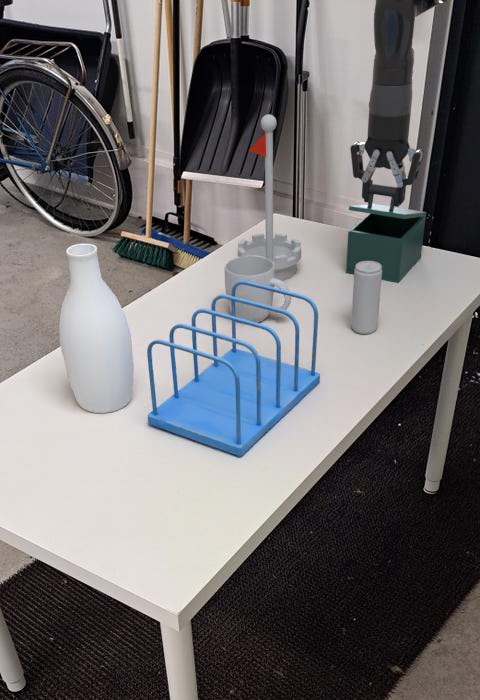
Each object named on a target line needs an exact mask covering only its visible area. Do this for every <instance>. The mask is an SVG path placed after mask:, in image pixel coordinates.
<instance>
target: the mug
mask: <svg viewBox="0 0 480 700" xmlns="http://www.w3.org/2000/svg"><path fill="white" fill-rule="evenodd" d="M239 281H249V282H253V283H258V284H262V285H266V286H270V287H274V288H277V289H281V290H285V291H289V292H291V290H290V288H289V287H288V285H287V284H286V283H285V282H284V280H282V281H281V280H279V279H275V274H274V264H273V262H272V261H271V260H269V259H267V258H264V257H260V256H241V257H238V256H236V257H234V258H232V259H230V260H228V262H226V263H225V265H224V287H225V295H229V296H231V293H232V288H233V286H234V285H235V284H236V283H237V282H239ZM274 294H275V292H272V291H269V290H265V289H261V288H256V287H252V286H248V285H239V286H237V288H236V291H235V297H237V298H241V299H245V300H249V301H253V302H257V303H260V304H264V305H268V306H271V307H273V301H274ZM283 298H284V302H283V304H281V305H280V306H274V307H275V308H279V309H283V310H286V311H287V309H288V308H289V307H290V306H291V301H292V296H288V295H284V294H283ZM226 301H227V305H228V308H229V312H230V314H231V315H232V307H231V300H228V299H226ZM270 314H274V315H275V314H276V315H277V314H279V313H277V312H274V311H270V310H266V309H262V308H259V307H255V306H251V305H247V304H243V303H239V302H235V317H238V318H241V319H245V320H249V321H252V322H256V323H260V322H263V321H264V320H266V318H268V317H269V315H270Z"/></svg>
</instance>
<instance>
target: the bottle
mask: <svg viewBox="0 0 480 700" xmlns="http://www.w3.org/2000/svg"><path fill="white" fill-rule="evenodd" d="M65 255H66V256H67V260H68V267H69V276H70V283H69V286H68V288H67V291H66V293H65V297H64V299H63V300H62V304H61V307H60V308H61V309H60V315H59V322H58V324H59V325H58V326H59V328H58V330H59V331H58V333H59V345H60V349H61V353H62V359H63V362H64V366H65V370H66V375H67V378H68V380H69V383H70V384H69V385H70V386H71V389H72V391H73V395H74V397H75V400H76V402H77V404H78V405H79V406H80V407H81V408H82V409H83V410H85V411H87V412H88V413H89V412H90V413H95V414H108V413H113V412H116V411H120V410H121V409H123V408H124V407H126V406H127V405H128V404H129V402H130V401H131V400H132V398H133V393H134V390H133V389H134V356H133V355H134V354H133V341H132V334H131V330H130V326H129V324H128V320H127V317H126V314H125V312H124V310H123V307H122V305H121V303H120V302H119V299H118V297H117V296H116V295H115V293H114V292H113V291H112V290H111V288H110V287H109V286H108V284H107V283H106V282H105V280H103V278H102V274H101V269H100V263H99V259H98V247H97V246H96V245H95V244H92V243H76V244H73V245H71V246H69V247H68V248H66V249H65Z"/></svg>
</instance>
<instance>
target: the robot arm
mask: <svg viewBox="0 0 480 700" xmlns="http://www.w3.org/2000/svg"><path fill="white" fill-rule="evenodd" d="M450 1H452V0H375V2H374V10H373V39H374V40H373V41H374V58H373V66H372V82H371V89H370V94H369V101H368V120H367V137H366V138H367V139H366V141H365V142H360V141H355V143H353V144H352V145H351V146H350V158H351V167H352V176H353V178H355V179H359V180H361V182H362V183H361V184H362V186H361V198H362V199H363V202H364V203H368V200H369V192H368V190H369V186H370V184H374V183H373V182H374V181H373V179H372V178H373V176H374V174H375V172H376V170H377V169H381V168H384V169H387V170H391V173H392V176H393V177H394V179H395V183H396V186H395V187H396V192H395V204H394V207H396V208H400V206H402V204H403V203H404V202H405V200H406V191H407V190H406V189H407V186H411V185H413V184H414V183H415V182H417V179H418V176H419V173H420V168H421V165H422V161H423V157H424V155H425V150H424V149H422V148H420V149H415V148H411V147H410V143H409V136H410V124H411V115H412V104H413V79H414V66H415V50H414V47H413V41H414V30H415V22H416V18H417V17H419V16H420V15H423V13H425V12H427V11H429V10H431V9H433V8H435V7H437V6H438V5H440V4H442V3H448V2H450ZM365 152H366V154H367V156H368V157H369V161H368V163H367V165H366V166H365V170H364V159H363V154H364V153H365ZM407 155H408V157H409V158H408V161H409V162H410V166H409V171H408V174H407V173H406V167H405V163H404V160H405V158H406V156H407Z"/></svg>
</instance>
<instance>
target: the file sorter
mask: <svg viewBox="0 0 480 700" xmlns="http://www.w3.org/2000/svg"><path fill="white" fill-rule="evenodd" d="M239 285H248V286H252V287H256V288H261V289H265V290H269V291H272V292H274V293H277V294H280V295H283V296H284V295H288V296H291V298H296V299H299V300H302V301H305V302H306V303H308V304H309V305H310V307H311V308H312V311H313V333H312V349H311V350H312V352H311V368H310V369H306V368H302V367H299V365H300V364H299V363H300V362H299V361H300V360H299V359H300V324H299V322H298V320H297V318H296V317H295V316H294V315H293V314H292V313H291V312H290V311H288V310H287V309H286V310H283V309H279V308H275V307H276V306H272V307H271V306H268V305H264V304H260V303H257V302H253V301H249V300H245V299H241V298H237V297H235V291H236V288H237V286H239ZM222 299H223V300H227V299H228V300H231V307H232V314H231V315H230V314H226V313H223V312H221V311H220V312H219V311H216V305H217V302H218V300H222ZM235 302H239V303H243V304H247V305H251V306H255V307H259V308H262V309H266V310H270V311H274V312H277V313H278V314H282V315H284V316H286V317H288V318H289V319H290V320H291V321H292V323H293V325H294V333H295V334H294V365H293V364H290V363H287V362H283V361H282V359H281V358H282V344H281V339H280V337H279V335H278V334H277V333H276V331H275V330H274V329H273V328H272V327H270V326H268V325H265V324H262V323H260V322H258V323H256V322H252V321H249V320H245V319H241V318H238V317H235ZM210 307H211V309H209V308H199V309H197V310H195V311H194V313H192V316H191V325H189V324H184V323H177V324H175V325H173V326H172V327H171V329H170V331H169V335H168V336H169V337H168V338H169V340H168V341H167V340H163V339H154V340H152V341H151V342H149V344H148V346H147V350H146V351H147V352H146V356H147V365H148V366H147V367H148V377H149V386H150V396H151V398H150V399H151V405H152V406H151V407H152V411H151V412H150V413H148V414H147V424H148V425H151V426H152V427H153V426H154V427H156V428H159V429H161V430H166V431H168V432H171V433H174V434H176V435H179V436H182V437H185V438H187V439H190V440H193V441H196V442H199V443H202V444H204V445H207V446H209V447H213V448H215V449H218V450H221V451H224V452H227V453H230V454H232V455H235V456H238V457H242V456H243V455H244V454H245V453H246V452H247V451H249V449H250V448H251V447H252V446H254V445H255V444H256V443H257V442H258V441H259V440H260V439H261V438H263V436H264V435H265V434H266V433H267V432H268V431H269V430H270V429H272V427H274V426H275V425H276V424H277V423H278V422H279V421H280V420H281V419H282V418H283V417H284V416H286V415H287V414H288V412H290V411H291V410H292V409H293V408H294V407H295V406H296V405H297V404H298V403H300V401H301V400H302V399H304V397H306V396H307V395H308V394H309V393H310V392H311V391H312V390H313V389H314V388H315V387H316V386H317V385H318V384H319V383H320V382H321V373H320V372H316V362H317V343H318V329H319V328H318V327H319V310H318V307H317V305H316V304H315V301H313V300H312V299H311V298H310V297H308V296H306V295H304V294H300V293H296V292H292V291H290V292H289V291H285V290H281V289H279V288H278V287H275V286H274V287H270V286H266V285H262V284H258V283H253V282H249V281H239V282H237V283H236V284H235V285H234V286H233V288H232V293H231V296H229V295H226V294H218V295H216V296H215V297H214V298H213V299H212V302H211V306H210ZM199 314H207V315H210V316H211V331H210V330H207V329H203V328H199V327H197V324H196V323H197V321H196V319H197V316H198V315H199ZM217 317H218V318H221V319H226V320H229V321H231V336H228V335H223V334H221V333H218V332H217ZM237 323H239V324H243V325H247V326H251V327H254V328H257V329H261V330H264V331H266V332H267V333H269V334H270V335H271V336H272V337H273V338H274V340H275V344H276V353H275V354H276V355H275V356H276V357H275V358H276V359H273V358H269V357H267V356H262V355H260V354H259V353H258V351H257V350H256V349H255V348H254V346H253V345H251V344H250V343H248V342H247V341H245V340H241V339H237V328H236V326H237V325H236V324H237ZM178 329H184V330H187V331H191V341H192V348H191V347H188V346H184V345H180V344H177V343H175V338H174V337H175V335H174V333H175V331H176V330H178ZM197 334H201V335H205V336H208V337H212V350H213V354H210V353H207V352H204V351H200V350H198V344H197ZM218 339H219V340H223V341H226V342H228V343H231V349H229V351H227V352H226V353H224V354H223V355H222V356H221V357H219V356H218V341H217V340H218ZM155 345H162V346H165V347H169V351H170V353H169V354H170V362H171V375H172V384H173V385H172V386H173V394H172V395H171V396H170V397H168V398H167V399H166V400H165V401H163V402H162V403H161V404H160V405H159V406H157V395H156V387H155V375H154V367H153V364H154V363H153V353H152V351H153V347H154V346H155ZM237 345H238V346H243V347H245V348H246V349H248V350H249V351H250V352H249V351H245V350H243V349H239V348H237ZM175 349H176V350H179V351H182V352H185V353H189V354H191V355H192V357H193V371H194V378H193V379H191V380H190V381H189V382H188V383H186V384H185V385H184V386H182V387H181V388H180V389H179V388H178V387H179V386H178V375H177V374H178V373H177V364H176V355H175ZM198 356H199V357H202V358H204V359H208V360H211V361H213V363H211V364H210V365H209V366H208V367H206V368H205V369H204V370H203V371H201V372H200V373H199V365H198V364H199V363H198Z"/></svg>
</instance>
